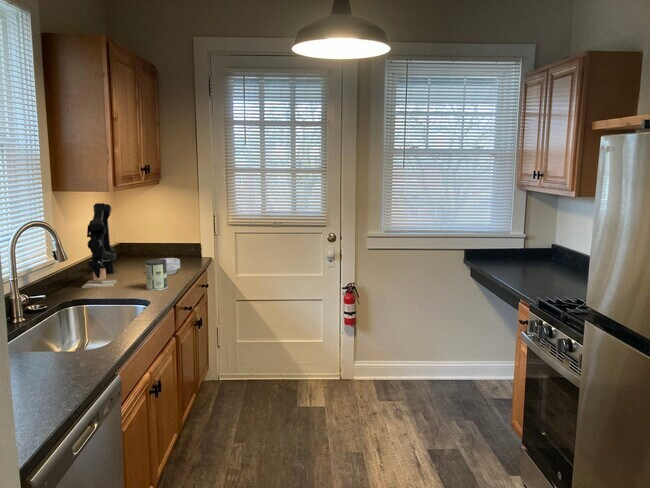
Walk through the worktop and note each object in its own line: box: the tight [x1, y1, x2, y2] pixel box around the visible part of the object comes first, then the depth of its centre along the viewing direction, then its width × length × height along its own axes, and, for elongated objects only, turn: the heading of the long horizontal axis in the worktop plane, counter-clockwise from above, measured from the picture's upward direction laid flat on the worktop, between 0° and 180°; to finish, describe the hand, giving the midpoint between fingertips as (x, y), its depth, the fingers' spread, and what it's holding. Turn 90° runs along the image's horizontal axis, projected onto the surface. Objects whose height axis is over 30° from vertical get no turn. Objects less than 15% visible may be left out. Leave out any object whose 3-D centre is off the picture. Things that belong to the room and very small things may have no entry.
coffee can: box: [144, 258, 168, 292], centre depth 260 cm, size 10×10×14 cm
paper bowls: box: [162, 257, 181, 276], centre depth 294 cm, size 15×15×8 cm
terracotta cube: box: [92, 268, 107, 280], centre depth 268 cm, size 5×5×5 cm
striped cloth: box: [81, 278, 118, 289], centre depth 269 cm, size 14×14×1 cm
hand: (99, 276), depth 268 cm, fingers closed on terracotta cube, 5 cm apart
